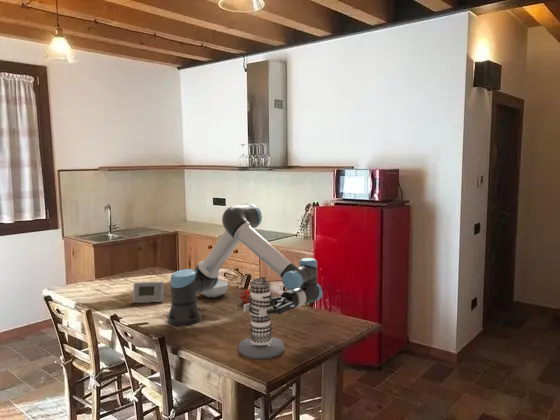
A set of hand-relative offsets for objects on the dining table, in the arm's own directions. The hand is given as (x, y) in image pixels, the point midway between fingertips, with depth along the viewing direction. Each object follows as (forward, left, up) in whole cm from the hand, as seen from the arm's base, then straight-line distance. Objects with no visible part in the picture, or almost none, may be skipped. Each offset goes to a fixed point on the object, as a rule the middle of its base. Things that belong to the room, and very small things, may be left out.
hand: (251, 310), depth 177 cm
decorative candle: (+4, +3, -14) cm, 14 cm away
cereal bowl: (-22, +80, -17) cm, 85 cm away
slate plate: (+4, +3, -17) cm, 18 cm away
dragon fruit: (-1, +63, -17) cm, 65 cm away
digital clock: (-56, +71, -17) cm, 92 cm away
